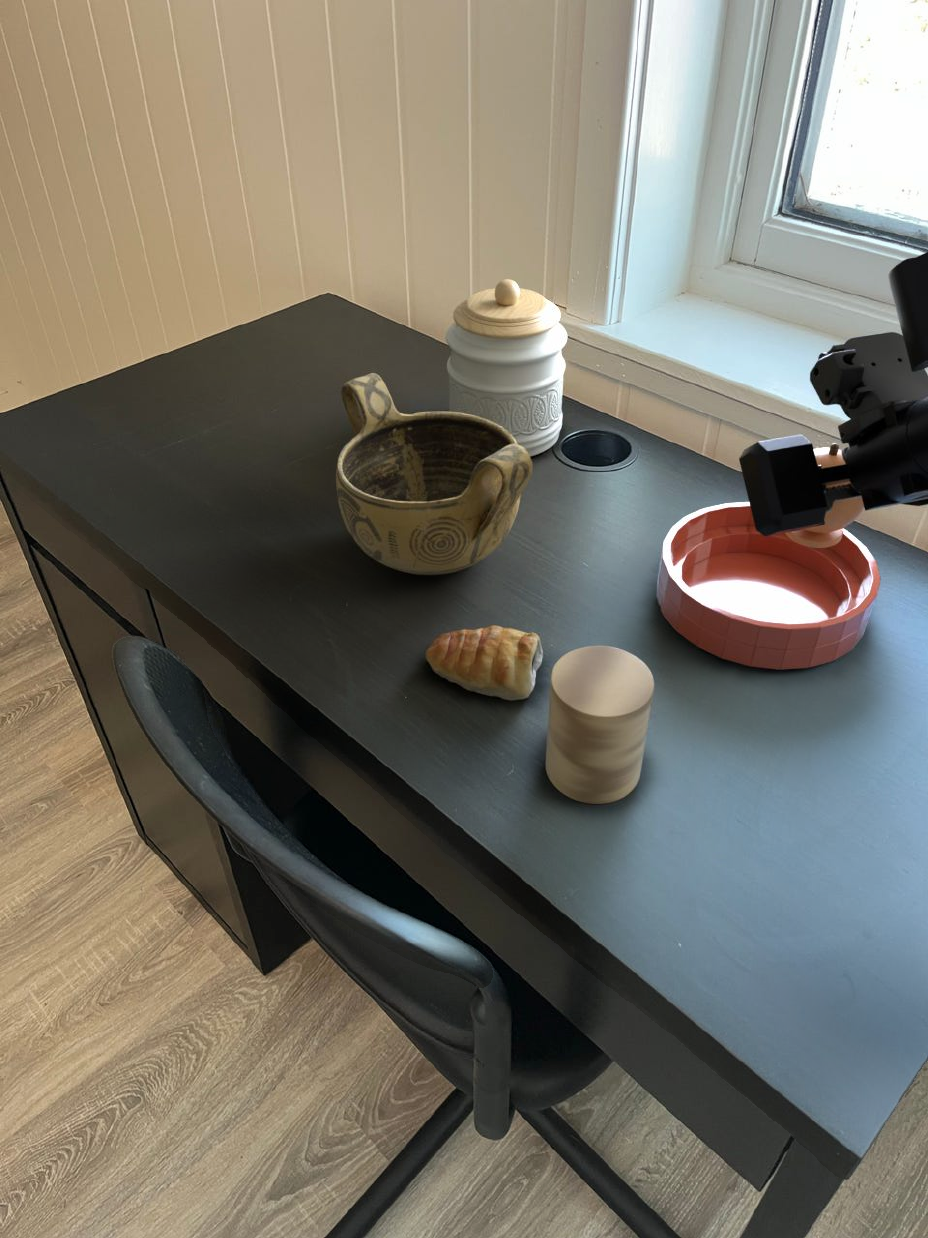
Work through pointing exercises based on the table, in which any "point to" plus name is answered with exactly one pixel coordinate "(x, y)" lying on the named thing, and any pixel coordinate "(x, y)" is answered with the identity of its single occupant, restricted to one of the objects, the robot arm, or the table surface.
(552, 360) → the jar
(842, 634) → the bowl
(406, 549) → the ceramic bowl
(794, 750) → the table surface
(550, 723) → the wooden cylinder
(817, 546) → the peach
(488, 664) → the pastry
